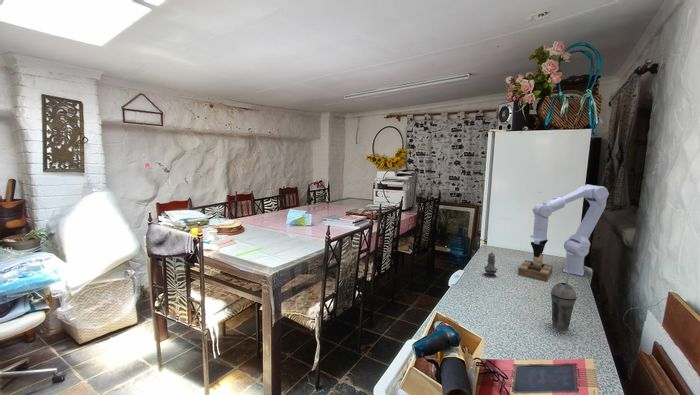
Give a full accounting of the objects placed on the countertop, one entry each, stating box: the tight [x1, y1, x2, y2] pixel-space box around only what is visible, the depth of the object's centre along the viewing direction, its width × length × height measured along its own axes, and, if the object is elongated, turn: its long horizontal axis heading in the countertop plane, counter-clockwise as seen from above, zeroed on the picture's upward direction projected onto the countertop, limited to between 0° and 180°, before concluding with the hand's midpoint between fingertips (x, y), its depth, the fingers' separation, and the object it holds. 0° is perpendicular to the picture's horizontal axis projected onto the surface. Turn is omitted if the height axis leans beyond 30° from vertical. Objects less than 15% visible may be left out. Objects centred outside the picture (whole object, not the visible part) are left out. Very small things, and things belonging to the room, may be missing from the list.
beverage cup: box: [550, 271, 577, 332], centre depth 102 cm, size 7×7×20 cm
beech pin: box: [532, 253, 544, 267], centre depth 152 cm, size 4×4×8 cm
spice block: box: [517, 259, 554, 282], centre depth 150 cm, size 15×12×4 cm
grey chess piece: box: [483, 251, 498, 278], centre depth 147 cm, size 6×6×12 cm
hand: (538, 254), depth 151 cm, fingers open, 7 cm apart
